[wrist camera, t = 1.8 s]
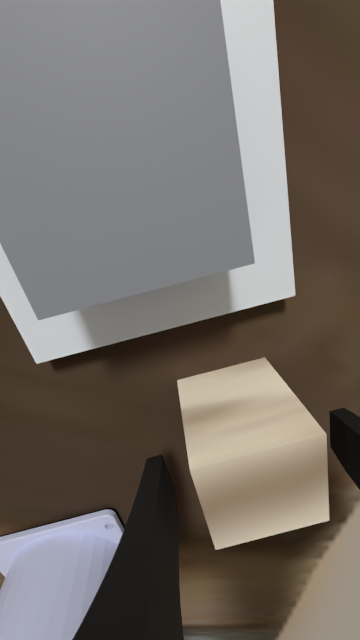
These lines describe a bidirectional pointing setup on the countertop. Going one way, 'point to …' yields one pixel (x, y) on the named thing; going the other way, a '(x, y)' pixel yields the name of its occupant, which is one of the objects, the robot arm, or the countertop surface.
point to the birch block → (253, 453)
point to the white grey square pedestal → (138, 167)
